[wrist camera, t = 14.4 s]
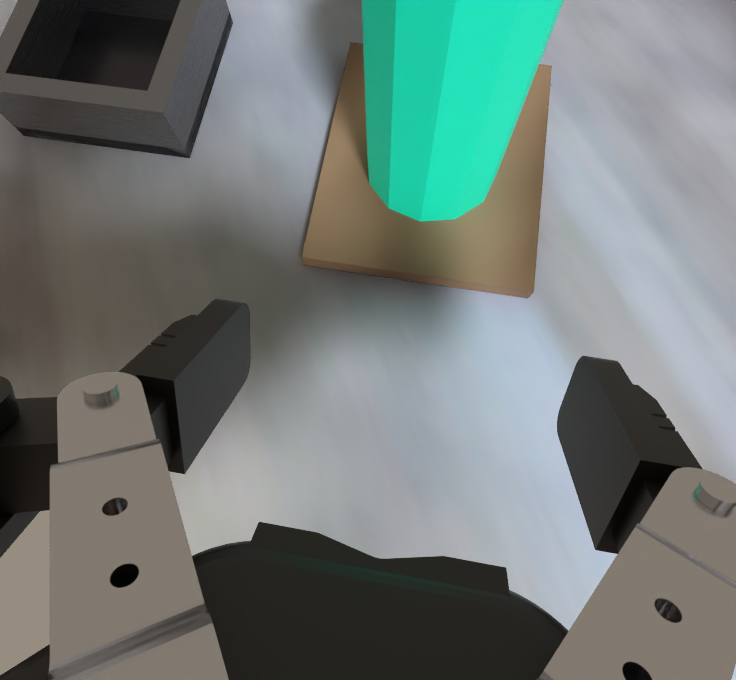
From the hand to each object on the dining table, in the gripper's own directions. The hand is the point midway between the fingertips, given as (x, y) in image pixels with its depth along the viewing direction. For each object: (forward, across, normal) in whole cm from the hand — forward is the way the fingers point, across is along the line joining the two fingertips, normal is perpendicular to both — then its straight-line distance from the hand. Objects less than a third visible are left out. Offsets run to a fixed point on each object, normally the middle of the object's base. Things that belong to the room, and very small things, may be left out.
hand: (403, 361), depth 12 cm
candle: (+13, 0, -2) cm, 14 cm away
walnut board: (+14, 0, -2) cm, 14 cm away
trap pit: (+16, +16, -5) cm, 23 cm away
